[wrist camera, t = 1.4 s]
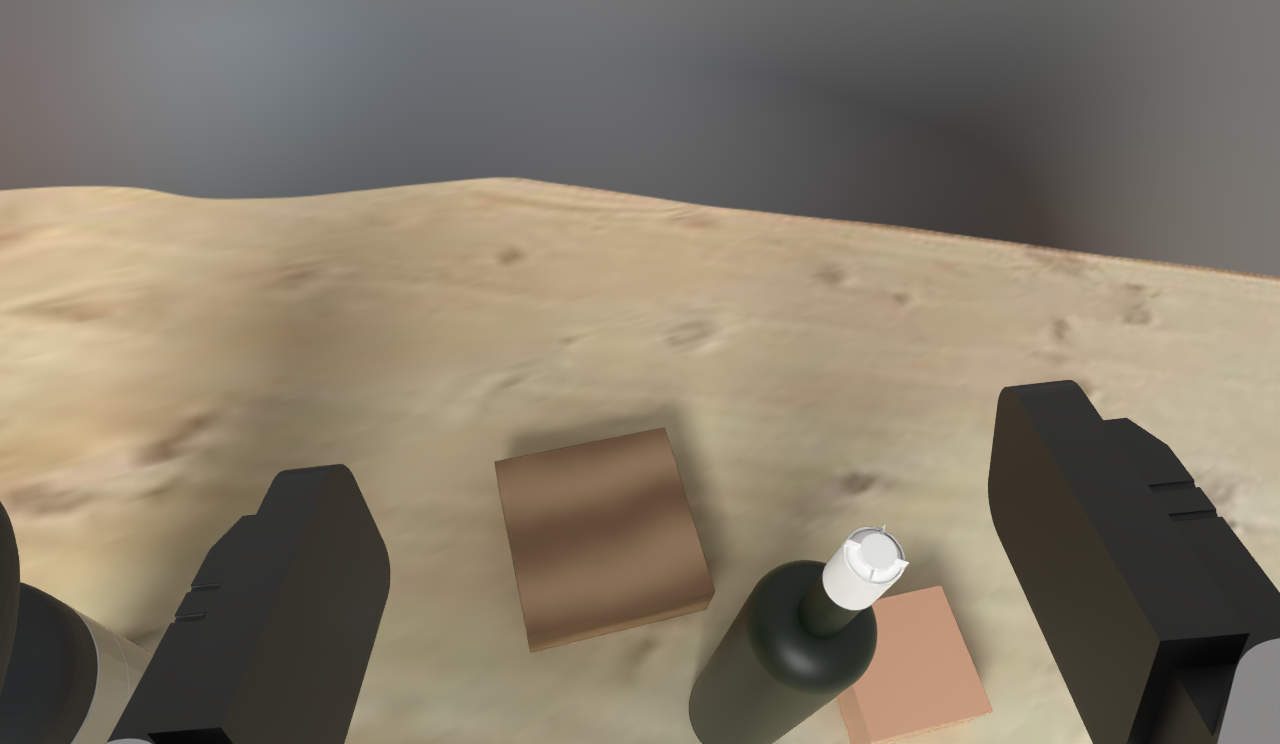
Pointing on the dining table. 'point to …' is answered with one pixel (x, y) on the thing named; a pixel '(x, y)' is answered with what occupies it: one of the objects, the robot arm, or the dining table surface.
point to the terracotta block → (913, 673)
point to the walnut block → (601, 538)
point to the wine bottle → (796, 642)
